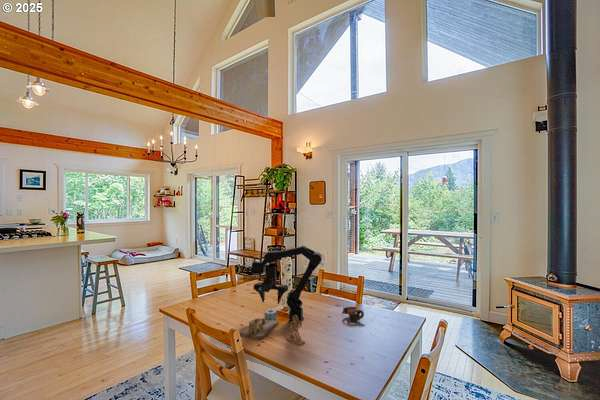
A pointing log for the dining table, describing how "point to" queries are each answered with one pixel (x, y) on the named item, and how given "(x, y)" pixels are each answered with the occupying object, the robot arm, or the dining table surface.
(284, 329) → the dining table surface
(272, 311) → the loose gear
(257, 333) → the gear board
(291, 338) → the gingerbread man figurine
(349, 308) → the pottery mug
